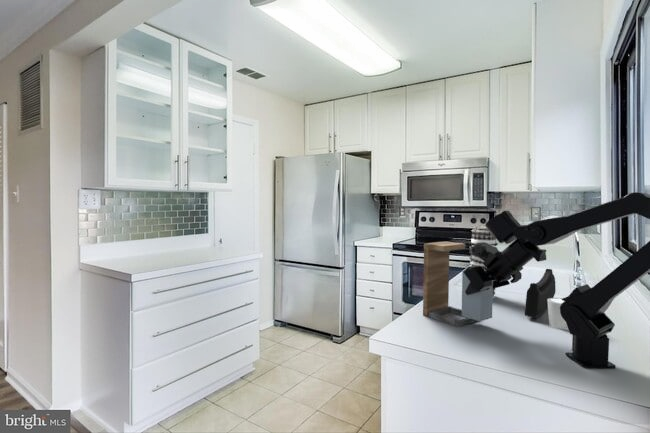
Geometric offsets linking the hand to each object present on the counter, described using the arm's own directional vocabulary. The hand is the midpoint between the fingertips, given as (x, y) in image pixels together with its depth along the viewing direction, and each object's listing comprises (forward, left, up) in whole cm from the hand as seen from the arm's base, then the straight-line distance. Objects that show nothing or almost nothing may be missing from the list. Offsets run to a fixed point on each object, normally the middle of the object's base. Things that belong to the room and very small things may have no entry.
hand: (472, 291), depth 100 cm
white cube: (-1, -24, -9) cm, 26 cm away
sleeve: (-1, -1, -7) cm, 7 cm away
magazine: (+15, -28, -9) cm, 33 cm away
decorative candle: (+29, -15, -9) cm, 34 cm away
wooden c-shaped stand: (+5, +3, -9) cm, 11 cm away
